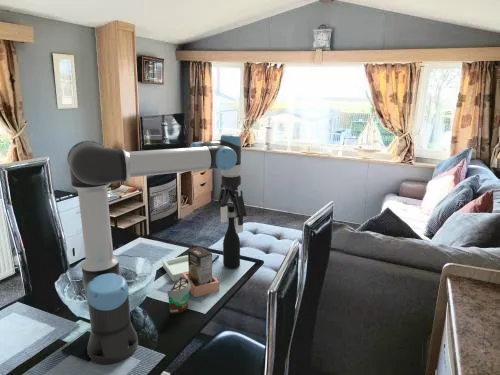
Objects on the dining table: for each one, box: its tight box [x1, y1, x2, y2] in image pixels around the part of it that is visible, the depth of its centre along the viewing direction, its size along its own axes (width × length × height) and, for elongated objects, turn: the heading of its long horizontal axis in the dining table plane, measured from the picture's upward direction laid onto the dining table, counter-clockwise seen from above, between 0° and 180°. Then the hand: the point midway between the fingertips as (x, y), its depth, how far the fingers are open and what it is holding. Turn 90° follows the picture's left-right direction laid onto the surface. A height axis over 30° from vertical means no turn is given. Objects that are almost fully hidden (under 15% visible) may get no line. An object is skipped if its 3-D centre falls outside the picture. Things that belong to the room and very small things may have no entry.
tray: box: [162, 254, 189, 282], centre depth 168 cm, size 18×16×3 cm
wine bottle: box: [222, 204, 241, 270], centre depth 168 cm, size 8×8×30 cm
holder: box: [183, 272, 220, 298], centre depth 153 cm, size 11×14×4 cm
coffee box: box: [187, 246, 213, 286], centre depth 151 cm, size 9×6×16 cm
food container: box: [167, 276, 191, 315], centre depth 137 cm, size 12×6×10 cm, turn 168°
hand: (231, 227), depth 143 cm, fingers open, 13 cm apart
